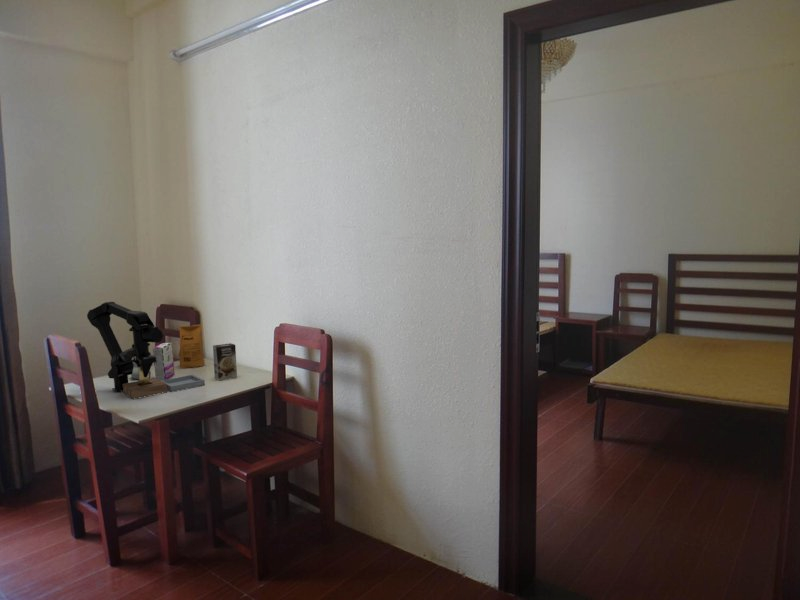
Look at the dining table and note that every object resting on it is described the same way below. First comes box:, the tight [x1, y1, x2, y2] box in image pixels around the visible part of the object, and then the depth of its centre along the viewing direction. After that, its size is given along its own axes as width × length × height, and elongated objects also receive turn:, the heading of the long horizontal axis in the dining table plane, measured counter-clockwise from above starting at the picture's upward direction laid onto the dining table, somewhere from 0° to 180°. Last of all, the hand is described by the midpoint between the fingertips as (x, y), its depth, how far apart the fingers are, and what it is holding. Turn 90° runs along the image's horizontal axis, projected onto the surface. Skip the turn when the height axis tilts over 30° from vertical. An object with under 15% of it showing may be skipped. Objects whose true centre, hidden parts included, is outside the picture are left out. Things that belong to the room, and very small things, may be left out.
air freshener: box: [130, 357, 152, 380], centre depth 268 cm, size 11×8×10 cm
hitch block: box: [122, 377, 168, 400], centre depth 242 cm, size 14×14×4 cm
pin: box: [138, 366, 150, 386], centre depth 242 cm, size 4×4×10 cm
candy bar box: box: [152, 342, 175, 380], centre depth 265 cm, size 11×5×16 cm, turn 0°
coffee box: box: [212, 342, 238, 382], centre depth 263 cm, size 9×6×16 cm
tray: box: [161, 374, 206, 393], centre depth 252 cm, size 14×15×2 cm
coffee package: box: [178, 323, 205, 369], centre depth 289 cm, size 10×12×22 cm
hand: (143, 376), depth 241 cm, fingers closed on pin, 4 cm apart
